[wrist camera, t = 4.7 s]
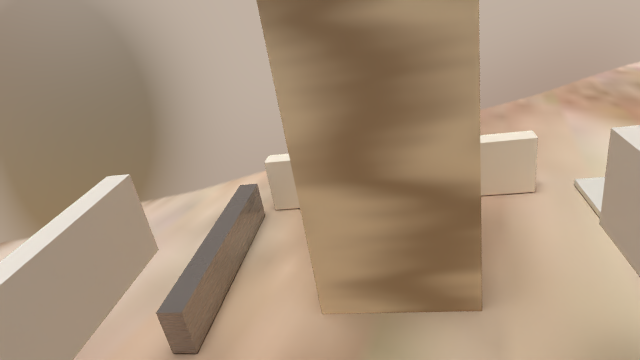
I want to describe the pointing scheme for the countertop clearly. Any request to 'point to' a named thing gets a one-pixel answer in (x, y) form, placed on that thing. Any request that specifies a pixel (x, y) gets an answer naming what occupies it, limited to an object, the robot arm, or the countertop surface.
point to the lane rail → (495, 155)
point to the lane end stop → (211, 272)
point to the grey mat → (592, 191)
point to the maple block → (383, 147)
